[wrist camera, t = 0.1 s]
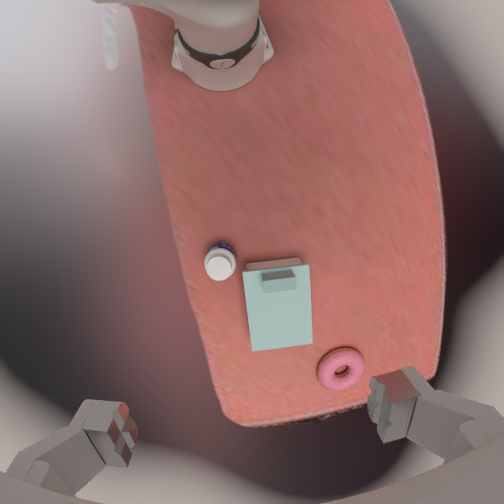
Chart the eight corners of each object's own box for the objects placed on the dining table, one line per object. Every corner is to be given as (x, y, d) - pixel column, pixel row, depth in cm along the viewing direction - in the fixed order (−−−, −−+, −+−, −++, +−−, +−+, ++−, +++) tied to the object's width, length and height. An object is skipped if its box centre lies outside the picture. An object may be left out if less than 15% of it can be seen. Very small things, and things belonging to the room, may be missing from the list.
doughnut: (351, 385, 66) (357, 396, 62) (308, 382, 65) (312, 393, 61) (368, 347, 63) (375, 356, 59) (324, 341, 62) (329, 351, 58)
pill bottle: (242, 256, 57) (243, 270, 48) (221, 274, 58) (218, 291, 49) (222, 235, 56) (219, 245, 47) (201, 254, 57) (195, 267, 48)
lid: (242, 270, 51) (242, 280, 47) (307, 263, 52) (314, 271, 47) (251, 348, 55) (253, 363, 50) (311, 340, 55) (317, 354, 50)
